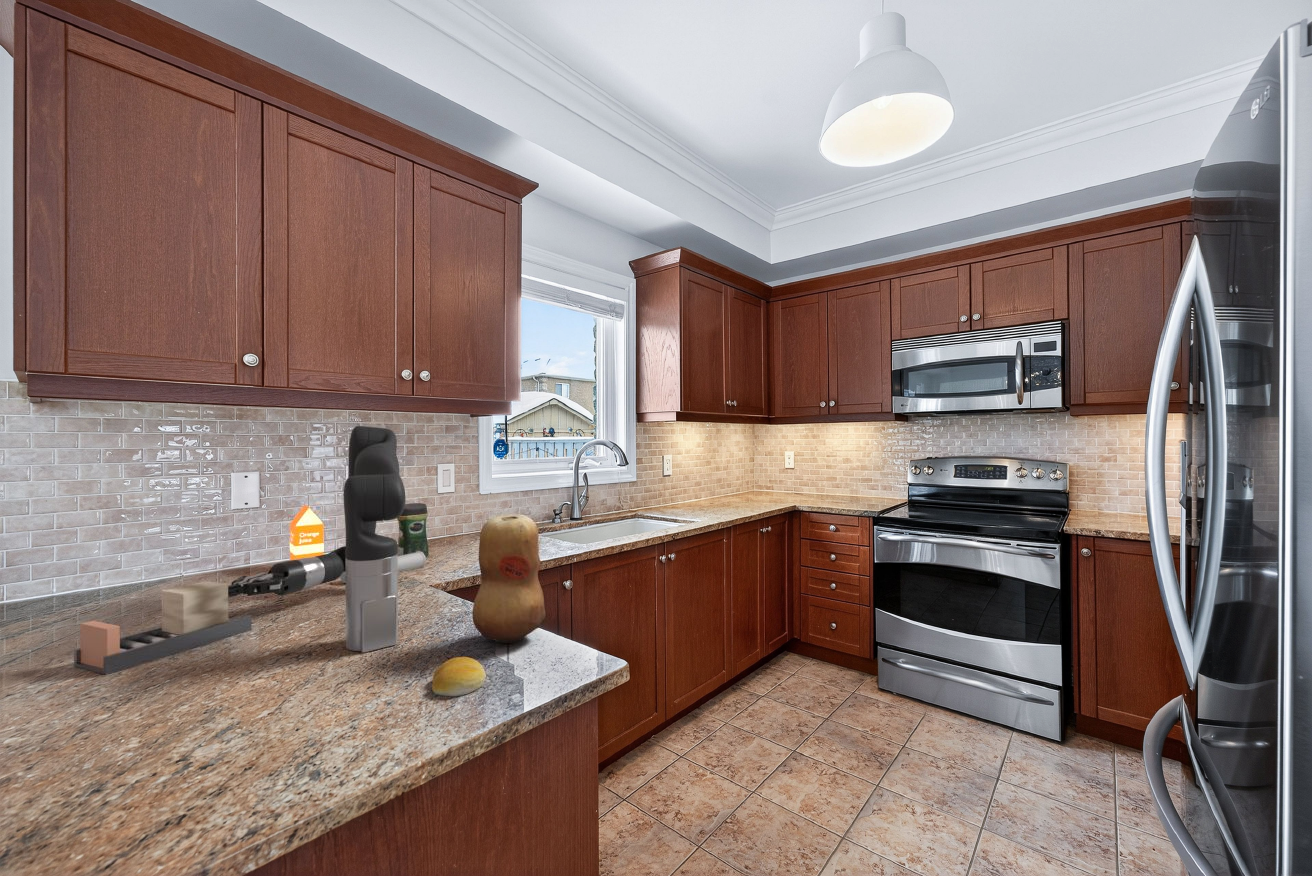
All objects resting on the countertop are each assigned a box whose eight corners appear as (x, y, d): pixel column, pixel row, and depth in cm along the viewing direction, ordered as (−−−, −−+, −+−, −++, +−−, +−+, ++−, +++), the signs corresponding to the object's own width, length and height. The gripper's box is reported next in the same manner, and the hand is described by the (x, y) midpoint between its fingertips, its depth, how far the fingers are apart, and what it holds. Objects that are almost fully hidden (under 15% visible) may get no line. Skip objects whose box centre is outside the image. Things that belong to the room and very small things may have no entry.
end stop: (93, 659, 101) (92, 620, 101) (119, 665, 98) (119, 626, 98) (80, 662, 99) (80, 623, 99) (107, 669, 96) (107, 629, 96)
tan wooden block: (206, 618, 117) (206, 580, 117) (228, 622, 115) (228, 583, 115) (161, 631, 110) (161, 590, 110) (183, 635, 107) (183, 594, 107)
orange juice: (294, 575, 165) (293, 508, 165) (289, 570, 172) (289, 505, 172) (324, 571, 170) (324, 505, 170) (318, 566, 177) (318, 503, 177)
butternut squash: (476, 658, 101) (475, 522, 101) (469, 635, 114) (469, 513, 114) (551, 646, 107) (550, 517, 107) (537, 625, 119) (536, 509, 119)
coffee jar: (422, 554, 194) (422, 501, 194) (431, 557, 188) (431, 503, 188) (393, 558, 188) (393, 503, 188) (401, 562, 182) (401, 505, 182)
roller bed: (221, 624, 121) (221, 610, 121) (251, 629, 118) (251, 615, 118) (74, 666, 99) (74, 649, 99) (106, 675, 95) (105, 657, 95)
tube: (348, 573, 152) (427, 555, 173) (337, 564, 155) (417, 548, 176) (344, 590, 153) (424, 570, 174) (334, 582, 155) (414, 563, 177)
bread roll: (431, 702, 85) (431, 676, 85) (433, 679, 94) (433, 655, 94) (487, 693, 88) (487, 668, 88) (484, 671, 96) (484, 648, 96)
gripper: (278, 557, 135) (197, 573, 119) (316, 561, 130) (237, 579, 114) (278, 588, 135) (197, 608, 119) (316, 593, 130) (237, 615, 114)
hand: (217, 594), depth 116 cm, fingers closed
